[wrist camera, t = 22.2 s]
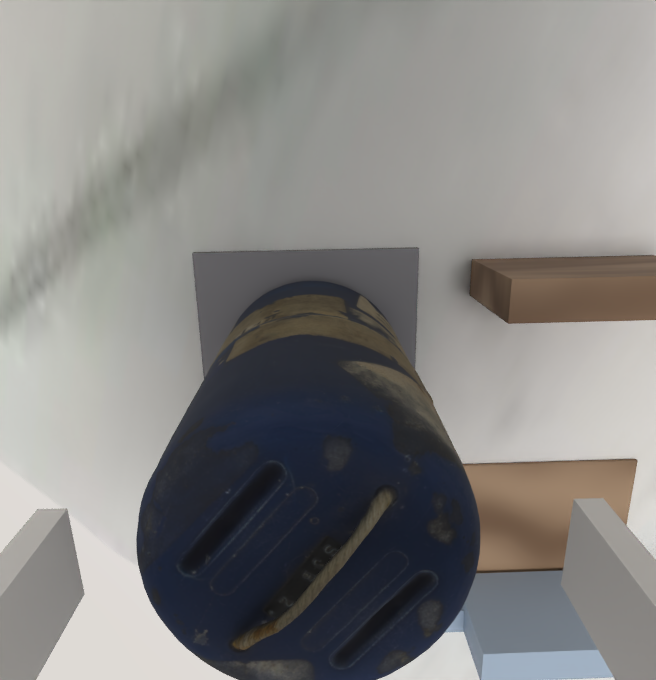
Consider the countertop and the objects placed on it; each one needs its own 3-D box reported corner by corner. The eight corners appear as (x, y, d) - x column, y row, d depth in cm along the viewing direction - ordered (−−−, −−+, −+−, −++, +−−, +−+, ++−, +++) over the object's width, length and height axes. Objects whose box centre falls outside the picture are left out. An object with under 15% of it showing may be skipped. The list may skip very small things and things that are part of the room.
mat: (193, 252, 28) (192, 253, 28) (417, 247, 28) (418, 248, 28) (212, 452, 32) (211, 456, 31) (411, 446, 32) (412, 450, 31)
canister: (428, 375, 30) (585, 636, 13) (296, 463, 31) (277, 806, 14) (330, 238, 28) (361, 334, 10) (192, 341, 29) (17, 575, 12)
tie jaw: (312, 579, 34) (313, 660, 28) (606, 568, 34) (666, 647, 28) (314, 611, 35) (314, 697, 29) (601, 601, 35) (658, 683, 29)
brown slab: (453, 259, 29) (489, 279, 23) (670, 255, 29) (760, 273, 23) (436, 597, 35) (460, 678, 29) (612, 590, 35) (670, 670, 30)
